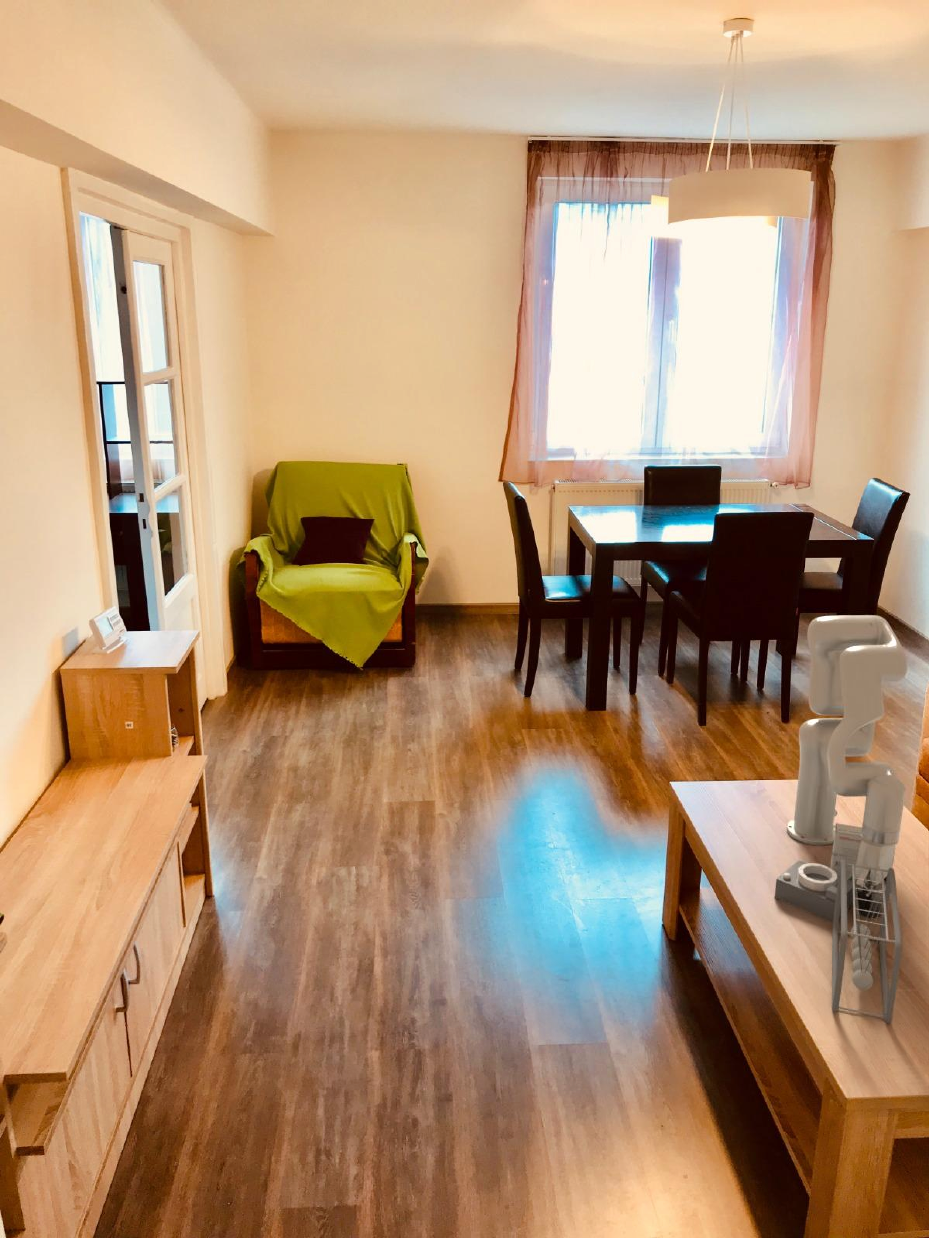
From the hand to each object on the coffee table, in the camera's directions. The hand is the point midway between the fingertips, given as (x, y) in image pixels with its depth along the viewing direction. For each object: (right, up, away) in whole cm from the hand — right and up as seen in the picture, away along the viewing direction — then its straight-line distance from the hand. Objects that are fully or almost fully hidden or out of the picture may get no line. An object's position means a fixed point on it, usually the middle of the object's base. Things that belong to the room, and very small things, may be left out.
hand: (871, 899), depth 216 cm
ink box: (+1, +1, +16) cm, 16 cm away
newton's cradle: (-11, -10, -19) cm, 24 cm away
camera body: (-11, -2, +6) cm, 12 cm away
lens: (0, -3, +1) cm, 3 cm away
